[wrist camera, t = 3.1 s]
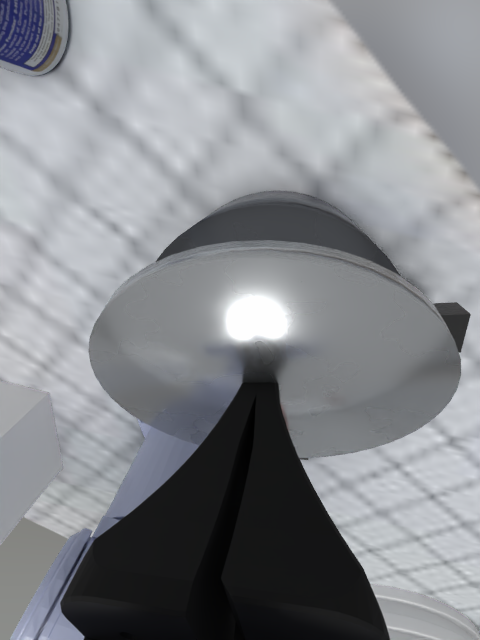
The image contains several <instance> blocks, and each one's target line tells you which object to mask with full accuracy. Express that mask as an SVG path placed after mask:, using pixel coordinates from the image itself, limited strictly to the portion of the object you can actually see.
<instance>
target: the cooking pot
mask: <svg viewBox="0 0 480 640" xmlns="http://www.w3.org/2000/svg"><path fill="white" fill-rule="evenodd" d="M257 240H273V241H286V242H299V243H306V244H311V245H317V246H322V247H327V248H332V249H337V250H340V251H343V252H346V253H349V254H352V255H355V256H358V257H361V258H364V259H367V260H370V261H372V262H374V263H376V264H378V265H380V266H382V267H384V268H386V269H388V270H390V271H392V272H395V273H396V274H398V275H399V273H398V272H397V270H396V269H395V267H394V266H393V264H392V263H391V261H390V260H389V259H388V258H387V256H386V255H385V254H384V253H383V252H382V251H381V250H380V249H379V248H378V247H377V246H376V245H375V244H374V243H373V242H372V241H371V240H370V239H369V238H368V237H367V236H366V235H365V234H364V233H363V232H362V231H361V230H360V229H359V228H358V227H357V226H356V225H355V224H354V223H353V222H352V221H351V220H350V219H349V218H348V217H347V216H346V215H344V214H343V213H342V212H341V211H339V210H338V209H337V208H335V207H333V206H331V205H330V204H328V203H326V202H324V201H322V200H319V199H317V198H314V197H312V196H309V195H305V194H300V193H296V192H287V191H268V192H260V193H255V194H250V195H247V196H244V197H241V198H238V199H235V200H233V201H231V202H230V203H228V204H226V205H224V206H222V207H220V208H219V209H218V210H216V211H215V212H213V213H212V214H210V215H209V216H207V217H206V218H204V219H203V220H201V221H200V222H198V223H197V224H195V225H194V226H192V227H191V228H190V229H188V230H187V231H186V232H184V233H183V234H181V235H180V236H179V237H177V238H176V239H175V240H174V241H173V242H172V243H171V244H170V245H169V246H168V247H167V248H166V249H165V250H164V251H163V253H162V254H161V255H160V257H159V258H158V259H157V261H159V260H162V259H164V258H166V257H168V256H171V255H173V254H177V253H180V252H183V251H187V250H190V249H194V248H197V247H201V246H207V245H213V244H220V243H226V242H232V241H257ZM157 261H156V262H157ZM399 276H400V275H399ZM434 306H435V307H436V309H437V310H438V312H439V313H440V315H441V317H442V318H443V320H444V321H445V323H446V325H447V327H448V329H449V331H450V333H451V335H452V337H453V339H454V341H455V343H456V346H457V349H458V352H461V349H462V345H463V341H464V337H465V333H466V330H467V326H468V322H469V318H470V313H469V312H467V311H466V310H465V309H464V308H463V307H462V306H460V305H459V304H458V303H457V302H456V303H435V304H434Z"/></svg>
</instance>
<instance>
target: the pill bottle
mask: <svg viewBox="0 0 480 640" xmlns="http://www.w3.org/2000/svg"><path fill="white" fill-rule="evenodd" d="M68 27H69V26H68V11H67V5H66V0H0V67H1V68H4V69H7V70H10V71H13V72H17V73H20V74H24V75H30V76H37V75H42V74H45V73H47V72H49V71H50V70H52V69H53V68H54V67H55V66H56V65H57V64H58V62H59V61H60V59H61V57H62V55H63V53H64V51H65V48H66V44H67V39H68Z"/></svg>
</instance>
